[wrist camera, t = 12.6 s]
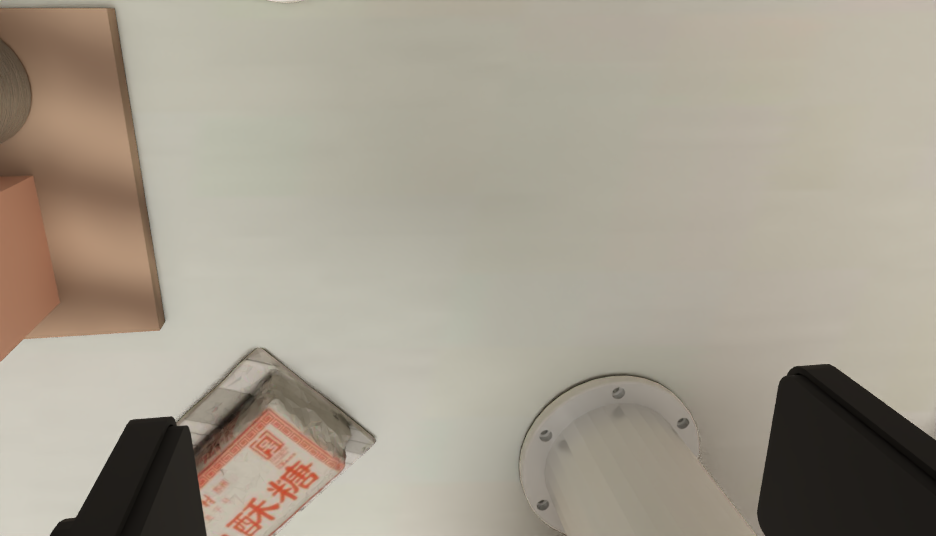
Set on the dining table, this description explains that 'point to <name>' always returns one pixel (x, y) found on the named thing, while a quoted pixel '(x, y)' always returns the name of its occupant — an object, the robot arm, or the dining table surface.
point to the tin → (12, 93)
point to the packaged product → (267, 447)
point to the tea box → (23, 263)
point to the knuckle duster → (286, 1)
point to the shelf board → (83, 171)
